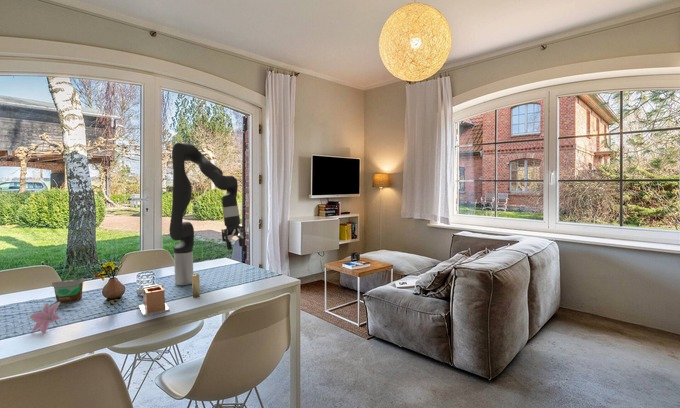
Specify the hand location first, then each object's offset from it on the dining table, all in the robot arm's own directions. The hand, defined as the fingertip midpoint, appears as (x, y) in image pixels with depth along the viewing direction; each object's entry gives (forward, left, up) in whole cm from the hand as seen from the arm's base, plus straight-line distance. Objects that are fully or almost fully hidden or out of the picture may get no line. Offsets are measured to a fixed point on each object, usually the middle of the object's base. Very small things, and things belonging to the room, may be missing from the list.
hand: (235, 247), depth 173 cm
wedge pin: (-4, -18, -22) cm, 29 cm away
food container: (-34, -67, -23) cm, 79 cm away
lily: (-2, -73, -23) cm, 77 cm away
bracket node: (0, -37, -22) cm, 43 cm away
